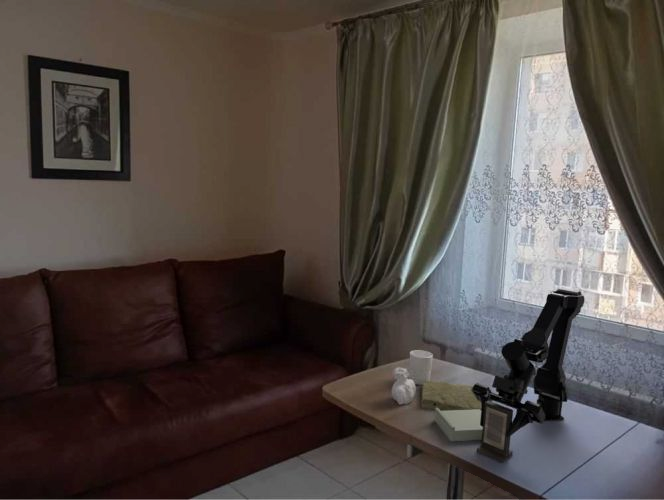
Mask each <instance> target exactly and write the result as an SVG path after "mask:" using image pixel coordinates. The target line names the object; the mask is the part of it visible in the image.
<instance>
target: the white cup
mask: <svg viewBox="0 0 664 500" xmlns="http://www.w3.org/2000/svg"><path fill="white" fill-rule="evenodd" d="M433 357H434V354H433V353H432V352H430V351H427V350H422V349H417V350H416V349H414V350H411V351H409V379H411V380H413V381H414V384H415V385H418V386H419V385H420V386H422V384H423V381H431V380H430V378H431V375H432V374H431V372H432V367H433V366H432V365H433Z"/></svg>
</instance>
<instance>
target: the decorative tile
mask: <svg viewBox="0 0 664 500" xmlns="http://www.w3.org/2000/svg"><path fill="white" fill-rule="evenodd" d="M472 387H473V386H472V385H466V384H457V383H456V384H455V383H448V382H438V381H433V380H429V381H423V384H422V385H421V408H422V409H423V408H424V410H434V411H435V408H439V409H440V411H448V410H472V409H480V410H481V401H479V400H477V399H476V397H475V396H474V394H473V392H472V391H471V389H472Z"/></svg>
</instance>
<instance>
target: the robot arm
mask: <svg viewBox="0 0 664 500" xmlns="http://www.w3.org/2000/svg"><path fill="white" fill-rule="evenodd" d="M585 300H586V299H585V296H584V295H583V294H582V291H580V290H575V289H574V290H573V289H569V288H564V287H558V288H557V289H556V290H550V292H549V293H548V294H547V295H546V301H545V304H544V306H543V307H542V309H541V312H540V313H539V315H538V317H537V318H536V321H535V323H534V325H533V327H532V328H531V329H530V330H528V331H527V332H525V333H524V334H523V335H522V336H521V338H520V339H519V338H514V340H513V341H510V342H507V343H506V344H504V345H503V346H502V348H501V356H502V357H503V359H504V361H505V363H506V365H507V367H508V368H509V371H508V374H507V375H506V374H505V375H504V376H503V377H501V376H499V375H496V374H495V375H494V379H493V382H492V386H491V387H492V388H494V389H495V391H496V393H498V394H496V393H494V392H493V391H492V390H491V388H490V387H489V386H487V385H484V384H482V383H479V382H476V383H475V384H473V386H472V389H471V391H472V392H473V394H474V396H475V397H476V399H477V400H479V401H481V419H480V425H481V426H483V419H484V408H485V402H487V401H490V402H493V401H494V403H495V402H496V403H497V404H500V405H504V406H505V407H506V406H507V407H508V408H512V409H516V411H515V412H516V413H515V416H514V418H513V419H512V424H511V425H510V427H509V429H508V432H507V434H506V436H507V437H510V436H512V435H514V434H515V433H516V432H517V431H519V430H520V429H521V428H524V427H525V426H526V425H528V424H531V425H533V423H534V422H535V423H538V424H540V425H543V424H544V422H545V421H560V420H563V421H564V419H565V417H564V416H562V408H563V402H564V403H565V402H566V403H567V402H568V398H569V395H570V394H569V393H570V392H569V391H570V390H569V389H568V386H567V384H566V379H567V377H566V374H565V372H564V368H563V364H564V360H565V355H566V351H567V346H568V342H569V337H570V332H571V327H572V324H573V323H572V322H573V320H574V319H576V317H578V315H579V314H580V313H581V310H582V307H584V304H585ZM549 338H550V340H549ZM548 341H549V343H548ZM531 361H532V362H531ZM544 361H545V363H543V362H544ZM533 362H534V363H537V364H541V363H543V364H542V366H540V367H538V368H537V369H536V367H535V365H534V363H533ZM533 376H534V377H533ZM532 378H534V379H533V394H535V395H538V397H537V399H536V402H533V401H531V400H528V399H527V400H526V401H525V402H524V403H523V402H522V399H523V397H524V396H525V395H527V394H528V387H529V385H530V383H531V381H532ZM510 438H511V437H510Z"/></svg>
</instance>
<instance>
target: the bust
mask: <svg viewBox="0 0 664 500" xmlns="http://www.w3.org/2000/svg"><path fill="white" fill-rule="evenodd" d="M392 375H393V377H394V379H395V380H396V381H395V382H394V383H393V385H392V387H391V396H392V398H393V399H394V401H396V402H397V403H398V405H408V404H409V403H410V402H412V401H413V400H414V397H415V395H416V392H417V387H416V384H414V381H413V380H411V379H410V378H409V377H410V372H409V371H408V370H407V367H405V368H404V367H395V368H394V369H393V370H392Z"/></svg>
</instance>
